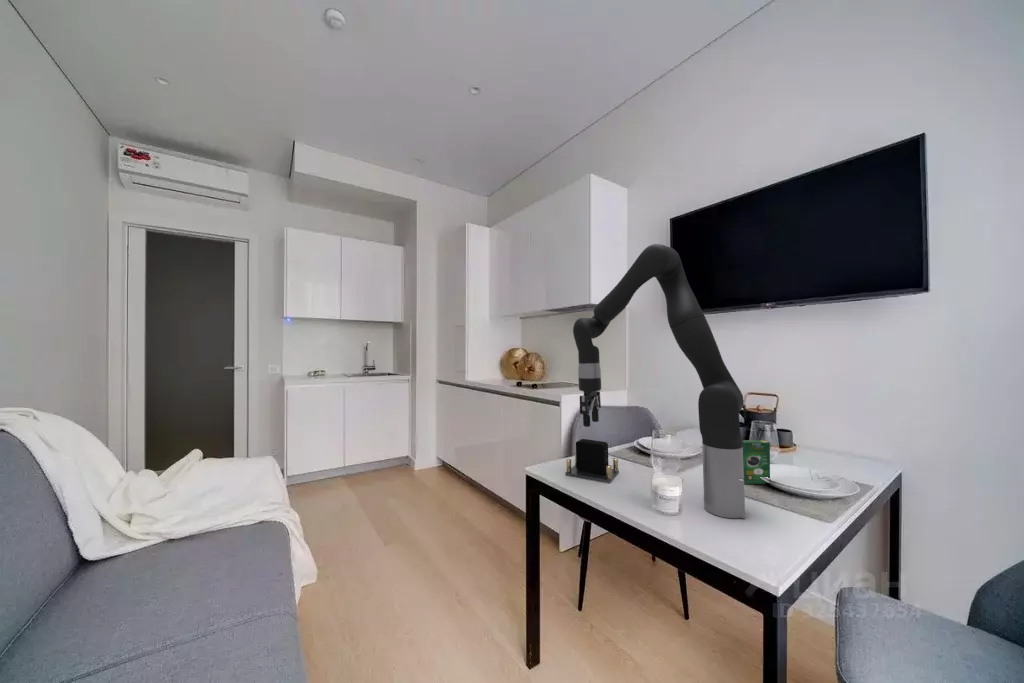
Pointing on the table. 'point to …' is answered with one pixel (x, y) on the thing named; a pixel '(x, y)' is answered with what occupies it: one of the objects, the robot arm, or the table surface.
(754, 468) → the coffee box
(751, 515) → the table surface
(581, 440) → the electronic device
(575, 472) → the chassis
